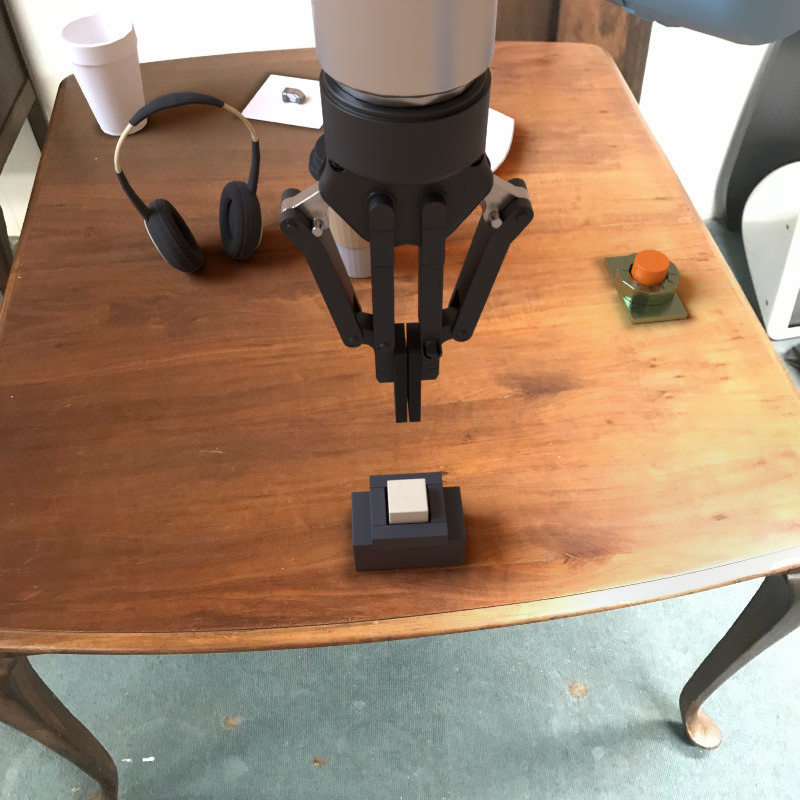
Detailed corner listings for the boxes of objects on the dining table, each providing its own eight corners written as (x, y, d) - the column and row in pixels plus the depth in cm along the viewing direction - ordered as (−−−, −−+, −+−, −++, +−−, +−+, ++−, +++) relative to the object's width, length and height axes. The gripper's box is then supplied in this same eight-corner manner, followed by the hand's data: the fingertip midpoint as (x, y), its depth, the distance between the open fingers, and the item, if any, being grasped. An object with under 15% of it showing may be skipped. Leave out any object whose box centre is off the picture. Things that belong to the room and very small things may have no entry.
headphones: (286, 263, 88) (260, 100, 73) (157, 298, 85) (101, 135, 70) (266, 220, 94) (237, 59, 78) (143, 251, 90) (88, 89, 75)
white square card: (319, 128, 106) (318, 118, 105) (238, 116, 108) (236, 106, 107) (347, 85, 113) (346, 75, 112) (271, 74, 116) (269, 64, 114)
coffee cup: (370, 225, 93) (364, 110, 81) (419, 266, 88) (420, 150, 76) (304, 257, 89) (288, 141, 77) (351, 302, 84) (342, 186, 73)
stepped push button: (456, 508, 68) (460, 470, 63) (464, 570, 64) (468, 534, 59) (354, 514, 67) (350, 476, 63) (355, 576, 64) (351, 540, 59)
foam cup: (92, 108, 110) (60, 15, 100) (159, 102, 111) (133, 9, 101) (87, 145, 104) (52, 50, 94) (156, 138, 105) (130, 43, 95)
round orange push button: (669, 284, 83) (674, 270, 81) (637, 288, 82) (641, 273, 81) (658, 262, 85) (663, 248, 83) (626, 265, 85) (630, 251, 83)
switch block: (688, 318, 82) (695, 301, 80) (629, 324, 82) (634, 307, 80) (656, 257, 89) (662, 239, 87) (601, 262, 88) (605, 245, 86)
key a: (425, 490, 62) (425, 478, 61) (427, 522, 61) (428, 510, 59) (387, 492, 62) (387, 480, 61) (389, 524, 60) (389, 513, 59)
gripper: (541, 17, 36) (497, 359, 54) (256, 27, 35) (308, 369, 54) (574, 103, 31) (513, 446, 49) (245, 116, 31) (306, 457, 49)
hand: (406, 406), depth 51 cm, fingers closed
